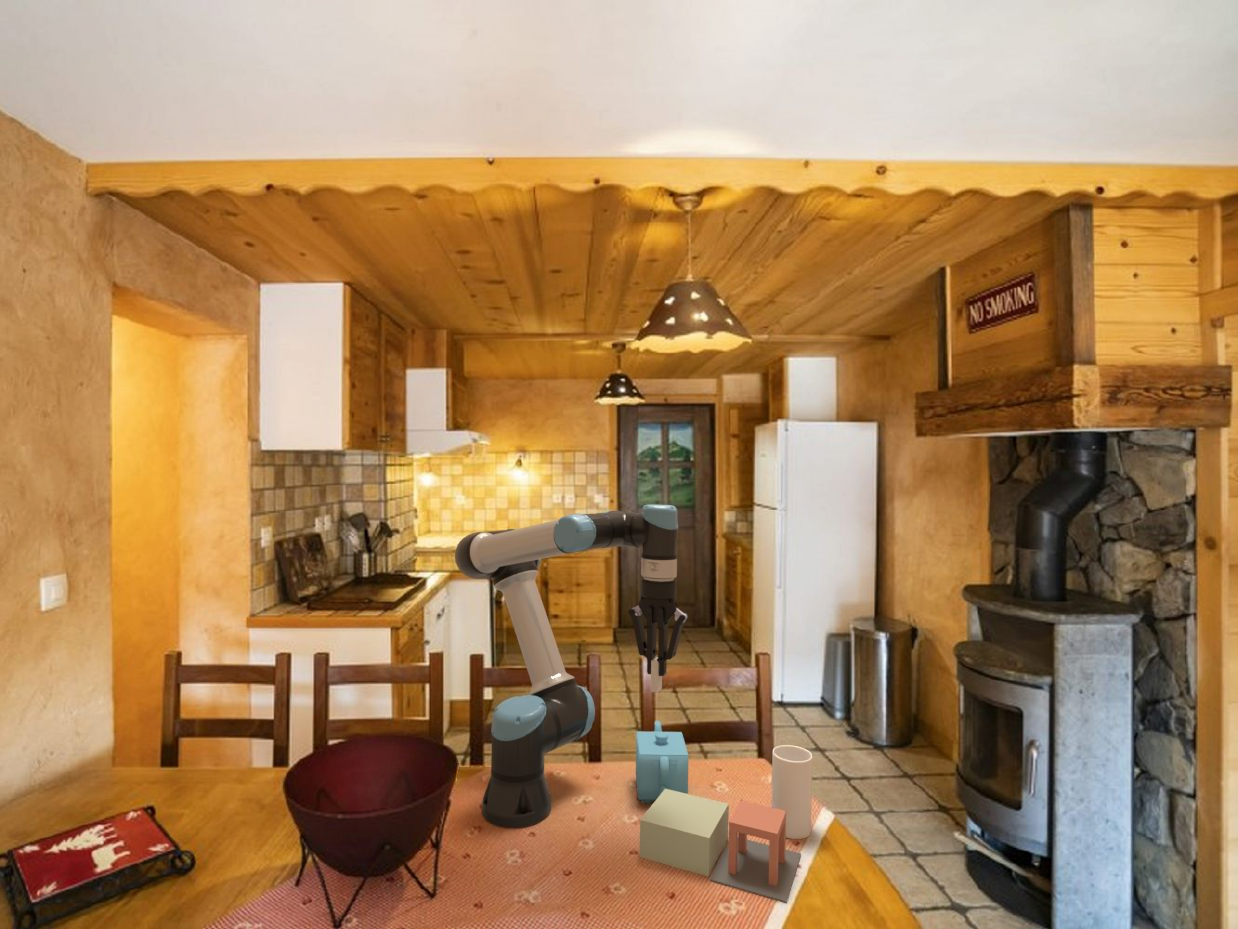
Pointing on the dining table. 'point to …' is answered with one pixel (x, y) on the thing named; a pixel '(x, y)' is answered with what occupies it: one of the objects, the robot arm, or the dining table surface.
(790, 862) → the mat
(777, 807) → the cup
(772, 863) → the stool
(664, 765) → the teapot
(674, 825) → the step block
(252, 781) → the dining table surface
